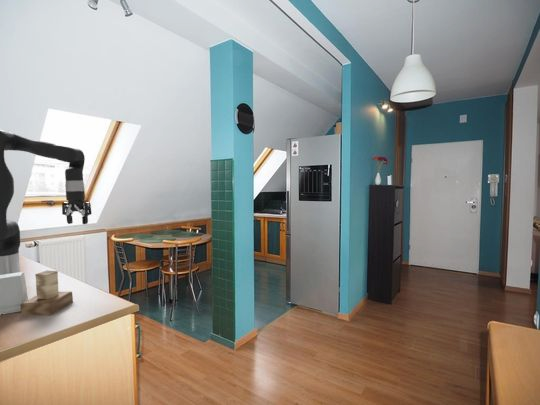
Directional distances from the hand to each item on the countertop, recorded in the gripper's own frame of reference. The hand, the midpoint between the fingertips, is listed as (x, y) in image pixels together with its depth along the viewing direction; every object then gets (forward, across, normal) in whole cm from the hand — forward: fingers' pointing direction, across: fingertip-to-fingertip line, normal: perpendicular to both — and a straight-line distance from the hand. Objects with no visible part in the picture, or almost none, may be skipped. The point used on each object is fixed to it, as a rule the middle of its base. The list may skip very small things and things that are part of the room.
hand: (77, 223), depth 142 cm
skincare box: (+31, -5, -28) cm, 42 cm away
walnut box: (+31, +7, -24) cm, 40 cm away
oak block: (+26, +7, -24) cm, 36 cm away
